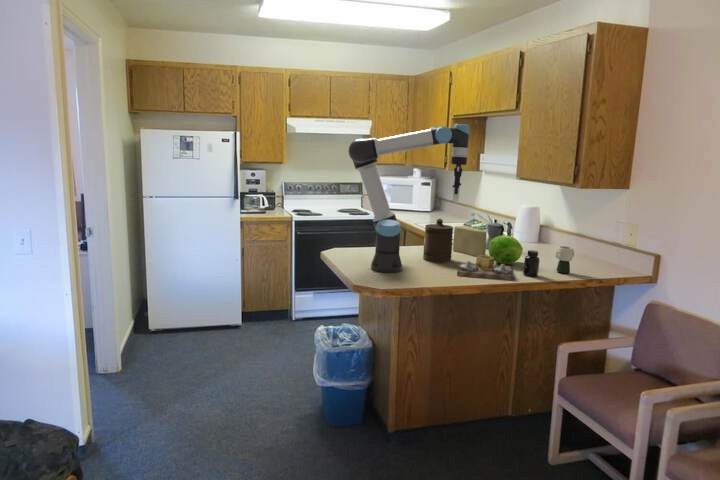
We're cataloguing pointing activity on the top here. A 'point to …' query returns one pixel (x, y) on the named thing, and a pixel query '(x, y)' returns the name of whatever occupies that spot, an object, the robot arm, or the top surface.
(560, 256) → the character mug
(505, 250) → the lettuce
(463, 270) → the gear board
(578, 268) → the top surface
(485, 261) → the faceted octagonal washer
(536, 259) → the supplement bottle
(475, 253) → the beige rectangular block
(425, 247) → the wooden container
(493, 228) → the coffeepot
